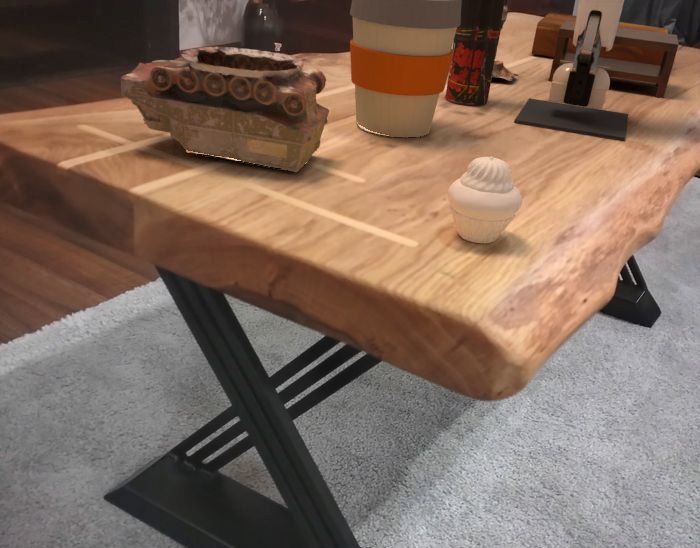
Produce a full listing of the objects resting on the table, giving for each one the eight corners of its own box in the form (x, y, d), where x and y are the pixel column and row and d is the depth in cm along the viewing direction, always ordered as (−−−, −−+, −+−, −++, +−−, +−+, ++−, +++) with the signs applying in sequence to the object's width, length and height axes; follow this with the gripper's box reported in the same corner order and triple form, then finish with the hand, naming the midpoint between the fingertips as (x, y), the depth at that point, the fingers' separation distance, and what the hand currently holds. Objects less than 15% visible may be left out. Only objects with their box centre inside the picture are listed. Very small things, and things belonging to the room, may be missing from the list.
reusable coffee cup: (465, 133, 94) (486, -1, 87) (397, 148, 86) (414, 2, 79) (389, 108, 101) (402, -17, 94) (319, 121, 93) (328, -15, 86)
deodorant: (438, 95, 111) (454, -21, 103) (475, 95, 112) (494, -18, 105) (456, 105, 106) (474, -15, 98) (494, 106, 108) (515, -12, 100)
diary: (530, 55, 144) (537, 22, 141) (544, 42, 160) (550, 12, 157) (658, 74, 139) (668, 40, 136) (659, 58, 154) (668, 27, 151)
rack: (662, 85, 131) (677, 34, 127) (663, 98, 122) (678, 44, 118) (555, 69, 135) (566, 20, 131) (548, 80, 126) (559, 28, 122)
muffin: (432, 239, 65) (444, 157, 61) (453, 217, 70) (466, 140, 66) (504, 257, 63) (521, 173, 59) (521, 232, 68) (537, 154, 64)
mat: (627, 116, 109) (628, 113, 109) (624, 141, 97) (625, 137, 97) (528, 100, 112) (529, 98, 112) (514, 122, 101) (514, 119, 100)
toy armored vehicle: (282, 196, 71) (287, 86, 66) (96, 156, 76) (87, 52, 71) (334, 158, 81) (341, 62, 76) (168, 126, 87) (164, 33, 82)
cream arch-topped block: (605, 102, 104) (614, 65, 102) (603, 109, 101) (613, 71, 98) (550, 94, 106) (558, 57, 104) (546, 100, 103) (554, 62, 100)
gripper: (643, -46, 86) (602, 119, 96) (645, -52, 100) (608, 93, 110) (575, -54, 88) (541, 109, 97) (586, -58, 102) (555, 84, 111)
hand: (577, 99), depth 103 cm, fingers closed on cream arch-topped block, 4 cm apart
